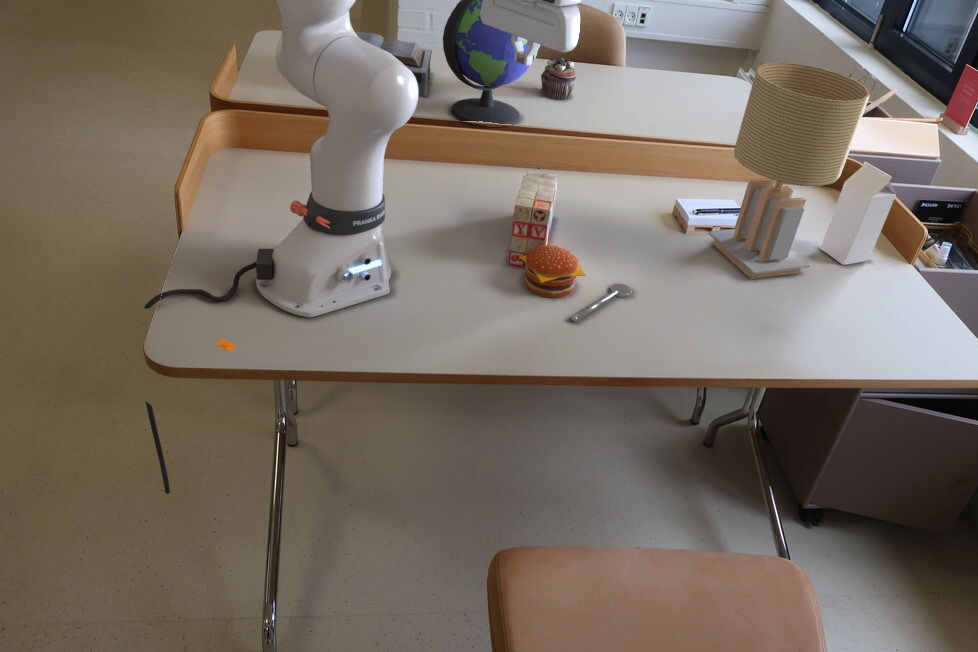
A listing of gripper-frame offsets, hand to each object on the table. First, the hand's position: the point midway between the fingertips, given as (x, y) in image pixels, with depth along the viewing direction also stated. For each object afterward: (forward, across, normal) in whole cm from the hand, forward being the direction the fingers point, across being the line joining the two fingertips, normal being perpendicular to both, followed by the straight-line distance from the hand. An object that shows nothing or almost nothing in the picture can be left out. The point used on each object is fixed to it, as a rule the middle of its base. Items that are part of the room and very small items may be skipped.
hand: (522, 63), depth 151 cm
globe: (+28, -37, +35) cm, 58 cm away
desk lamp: (+28, +45, +24) cm, 59 cm away
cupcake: (+28, -36, +63) cm, 78 cm away
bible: (+28, -69, +30) cm, 80 cm away
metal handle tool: (+29, +35, -15) cm, 48 cm away
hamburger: (+29, +25, -16) cm, 42 cm away
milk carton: (+28, +57, +41) cm, 76 cm away
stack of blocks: (+29, +12, -7) cm, 32 cm away
